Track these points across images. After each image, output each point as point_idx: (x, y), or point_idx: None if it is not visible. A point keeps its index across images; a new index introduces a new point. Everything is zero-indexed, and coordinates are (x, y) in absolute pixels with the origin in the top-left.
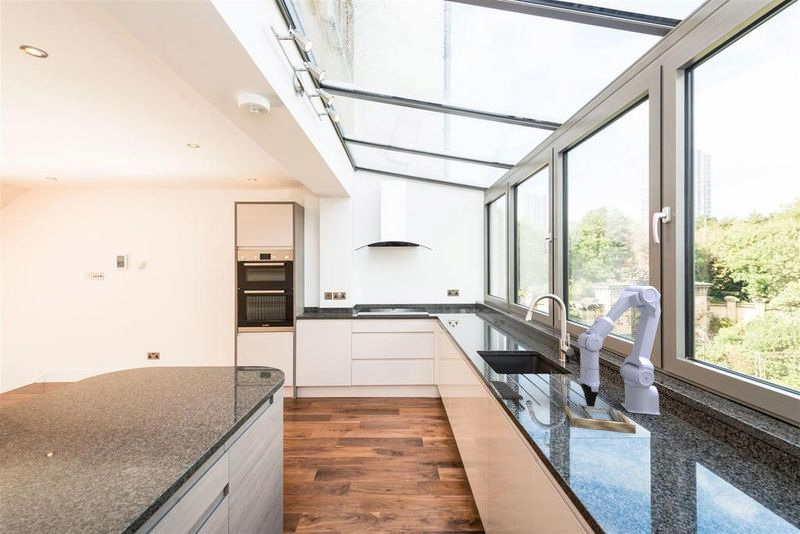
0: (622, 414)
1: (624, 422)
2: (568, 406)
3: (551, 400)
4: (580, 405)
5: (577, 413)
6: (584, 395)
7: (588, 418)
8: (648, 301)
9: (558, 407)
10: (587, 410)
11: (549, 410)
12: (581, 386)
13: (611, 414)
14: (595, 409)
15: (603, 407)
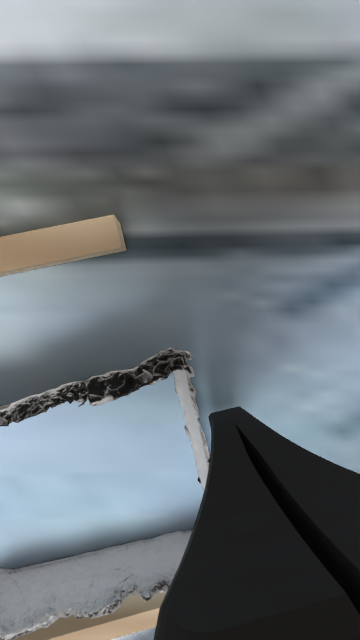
0: (135, 628)
1: None
2: (102, 247)
3: (338, 76)
4: (186, 359)
5: (86, 324)
6: (294, 445)
7: (4, 408)
8: None
9: (159, 154)
10: (183, 397)
11: (16, 55)
12: (333, 599)
13: (172, 540)
14: (202, 457)
15: None
